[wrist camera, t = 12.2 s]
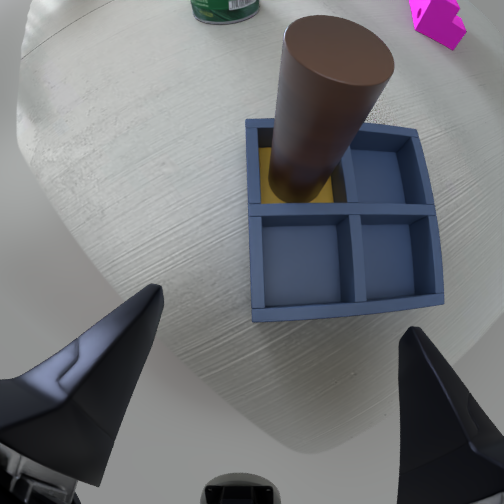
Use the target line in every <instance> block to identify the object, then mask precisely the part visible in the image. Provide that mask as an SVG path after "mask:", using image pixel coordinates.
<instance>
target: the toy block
mask: <svg viewBox="0 0 504 504" xmlns="http://www.w3.org/2000/svg"><path fill="white" fill-rule="evenodd" d="M409 2H410V7H411V12H412V17H413V22H414V28H415V30H416V31H418V32H420V33H422V34H424V35H426V36H428V37H430V38H432V39H434V40H435V41H437V42H439V43H441V44H443V45H444V46H446V47H448V48H450V49H451V50H454V48H455V47H456V46H457V44H458V43H459V42H460V40H461V39H462V37H463V36H464V35H465V33H466V32H467V31H466V29H465V27H464V24H463V22H462V19H461V18H460V17H458V16H457V15H456V14H457V13H458V11H459V10H460V7H459V5H458V3H457V1H456V0H409Z"/></svg>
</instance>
